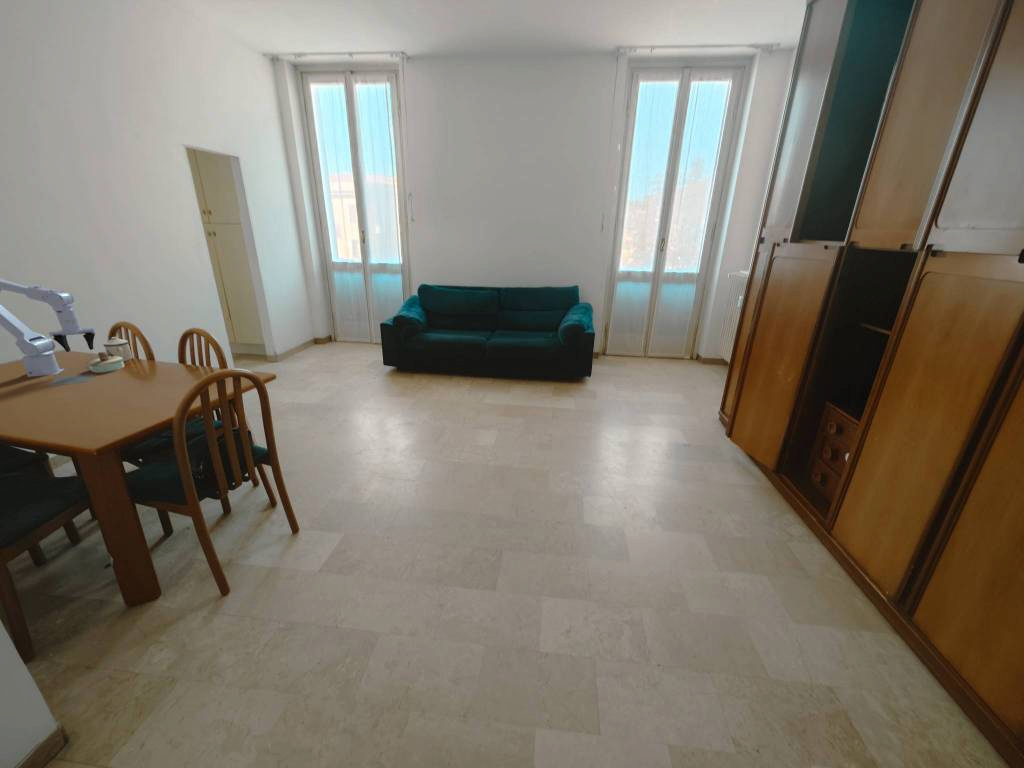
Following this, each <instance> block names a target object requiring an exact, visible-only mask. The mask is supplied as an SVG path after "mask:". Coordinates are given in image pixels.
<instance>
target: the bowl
mask: <svg viewBox="0 0 1024 768" xmlns="http://www.w3.org/2000/svg"><path fill="white" fill-rule="evenodd" d="M124 367H125V361H123V360H122V361H120V362H117V363H113V364H108V365H101V366H89V369H90V371H91V372H92V373H106V372H107V373H108V372H113V371H117V370H120V369H123V368H124Z"/></svg>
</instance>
